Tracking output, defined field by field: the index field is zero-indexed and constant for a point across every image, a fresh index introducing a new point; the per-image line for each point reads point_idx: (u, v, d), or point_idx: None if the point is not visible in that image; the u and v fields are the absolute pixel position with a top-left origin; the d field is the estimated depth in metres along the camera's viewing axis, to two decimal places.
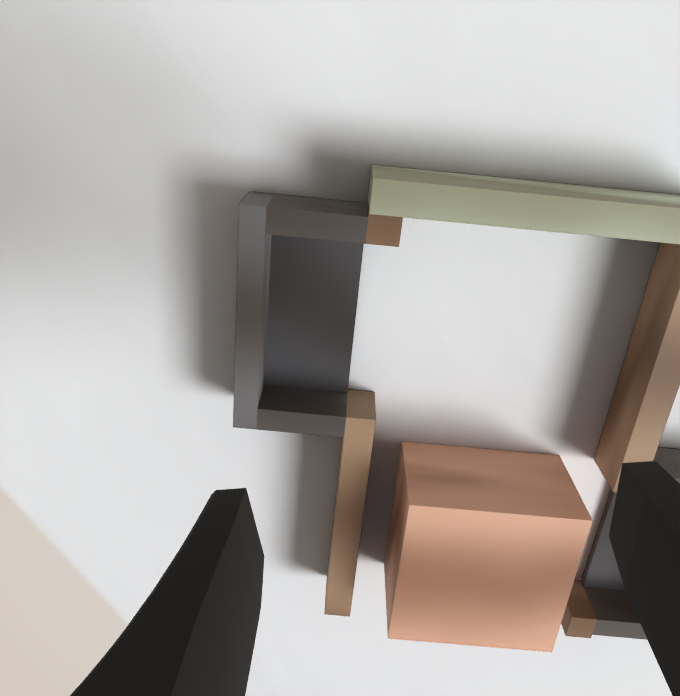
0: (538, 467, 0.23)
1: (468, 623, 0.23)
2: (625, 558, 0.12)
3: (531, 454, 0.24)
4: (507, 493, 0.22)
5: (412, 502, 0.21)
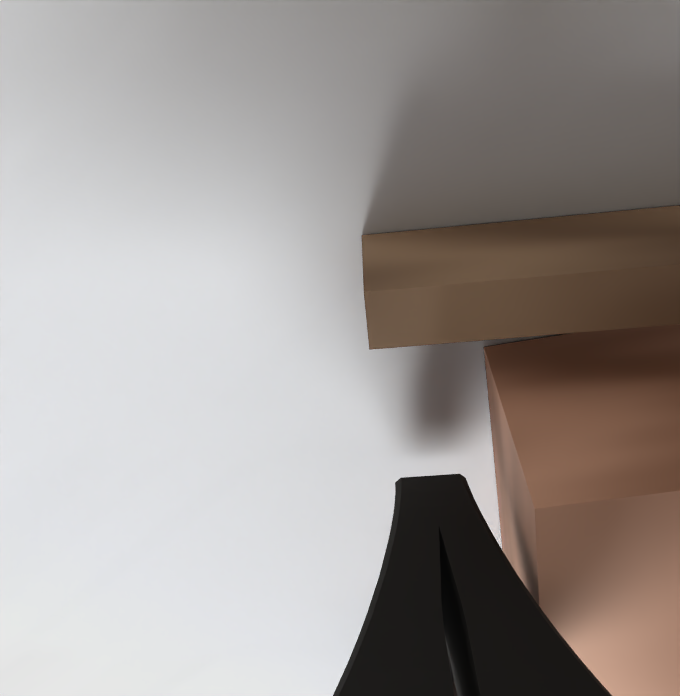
0: None
1: (607, 619, 0.10)
2: None
3: None
4: None
5: None
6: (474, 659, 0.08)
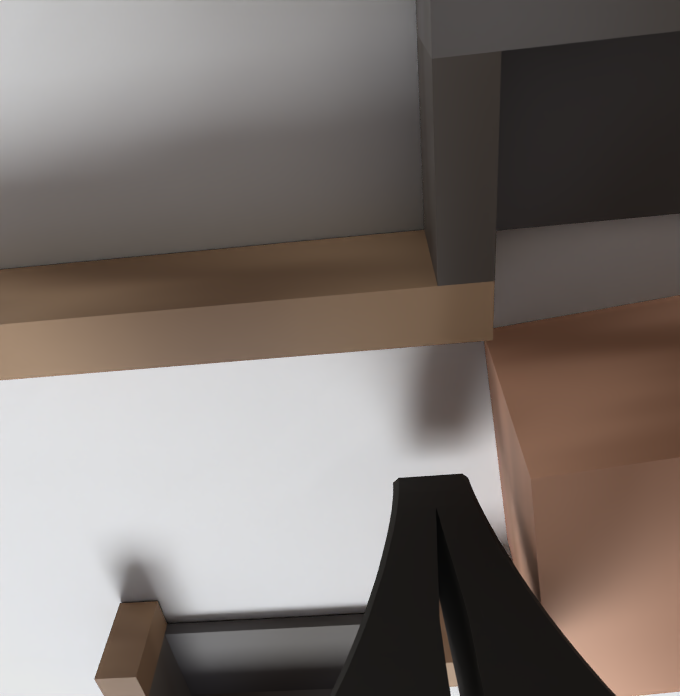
0: None
1: (608, 592, 0.10)
2: None
3: None
4: None
5: None
6: (478, 659, 0.08)
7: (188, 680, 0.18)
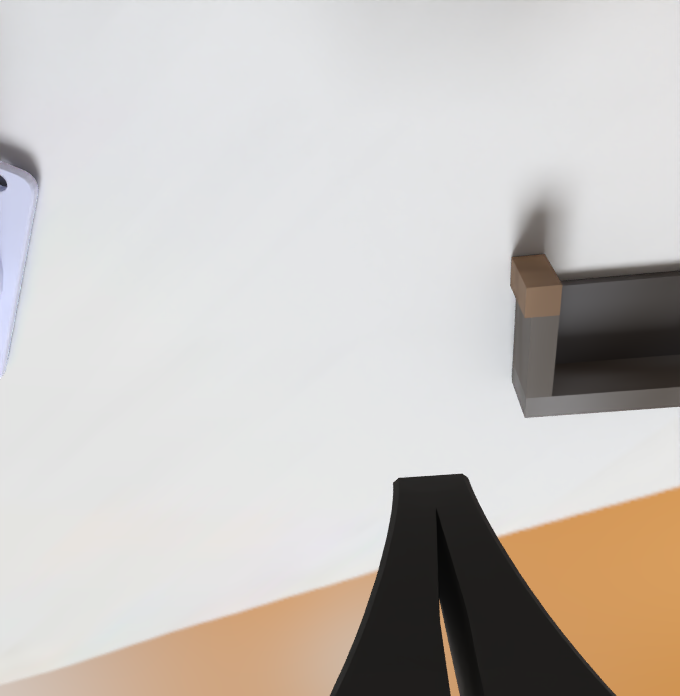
0: None
1: None
2: None
3: None
4: None
5: None
6: (477, 659, 0.08)
7: None
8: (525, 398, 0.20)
